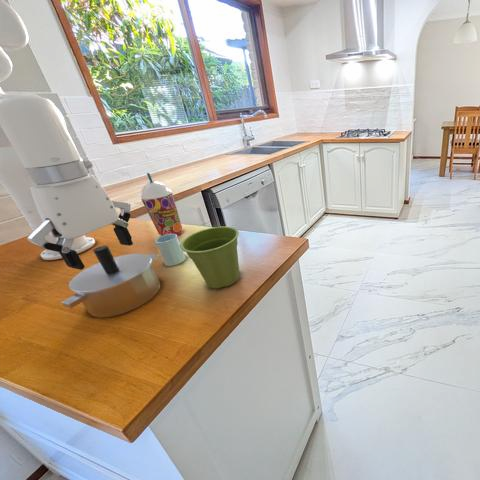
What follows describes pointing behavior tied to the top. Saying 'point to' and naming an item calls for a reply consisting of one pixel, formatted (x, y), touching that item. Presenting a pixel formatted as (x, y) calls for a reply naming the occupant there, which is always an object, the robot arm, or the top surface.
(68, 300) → the silver cooking pot
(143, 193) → the smoothie
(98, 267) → the lid
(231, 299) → the top surface
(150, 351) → the top surface
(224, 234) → the plant pot
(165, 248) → the measuring cup
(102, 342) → the top surface
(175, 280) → the top surface
